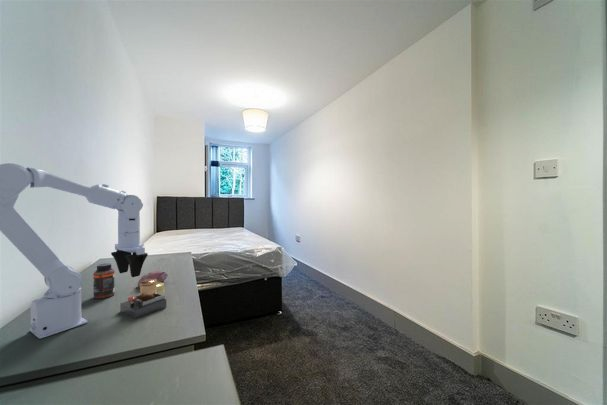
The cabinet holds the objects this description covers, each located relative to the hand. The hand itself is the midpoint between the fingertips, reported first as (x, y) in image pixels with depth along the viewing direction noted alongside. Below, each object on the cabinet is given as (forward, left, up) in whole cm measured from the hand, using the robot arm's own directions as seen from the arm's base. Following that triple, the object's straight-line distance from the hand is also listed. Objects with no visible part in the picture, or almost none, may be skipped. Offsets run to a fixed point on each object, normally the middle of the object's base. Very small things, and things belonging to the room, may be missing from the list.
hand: (129, 274), depth 79 cm
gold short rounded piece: (+9, +2, -11) cm, 14 cm away
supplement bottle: (0, +17, -11) cm, 20 cm away
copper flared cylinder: (+3, -6, -8) cm, 10 cm away
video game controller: (+15, +14, -11) cm, 23 cm away
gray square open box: (+1, -6, -10) cm, 12 cm away
